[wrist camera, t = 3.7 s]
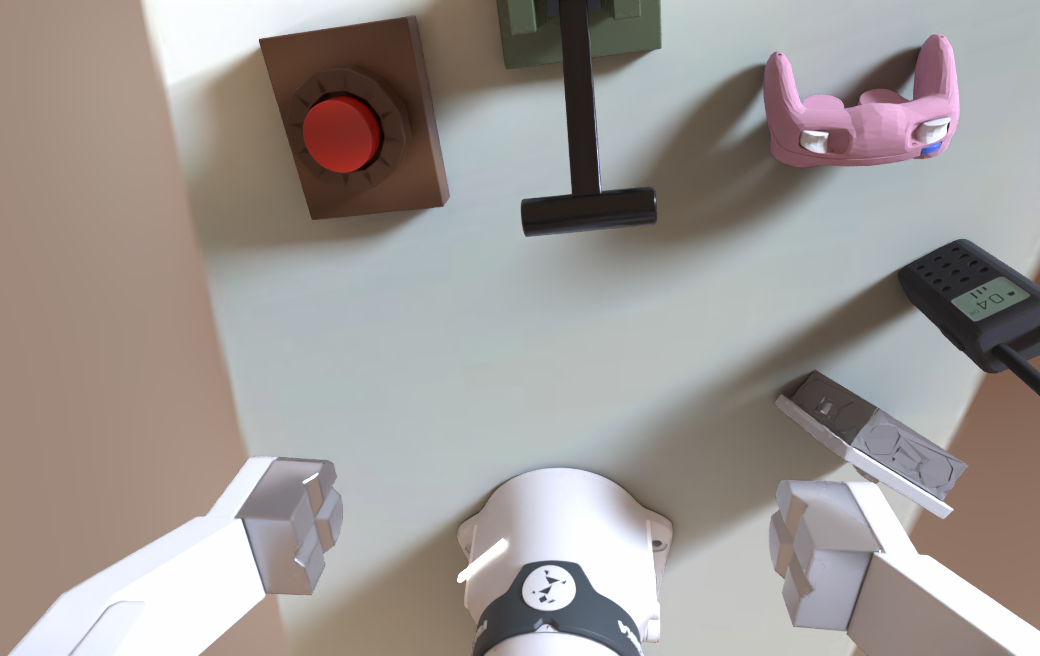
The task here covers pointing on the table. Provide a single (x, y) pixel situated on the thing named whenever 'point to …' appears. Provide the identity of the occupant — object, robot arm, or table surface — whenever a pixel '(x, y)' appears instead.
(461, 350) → the table surface
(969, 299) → the walkie-talkie
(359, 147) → the button
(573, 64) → the lever
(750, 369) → the table surface
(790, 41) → the table surface
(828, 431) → the electrical switch
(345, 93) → the button block
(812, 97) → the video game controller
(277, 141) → the table surface
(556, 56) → the bracket
